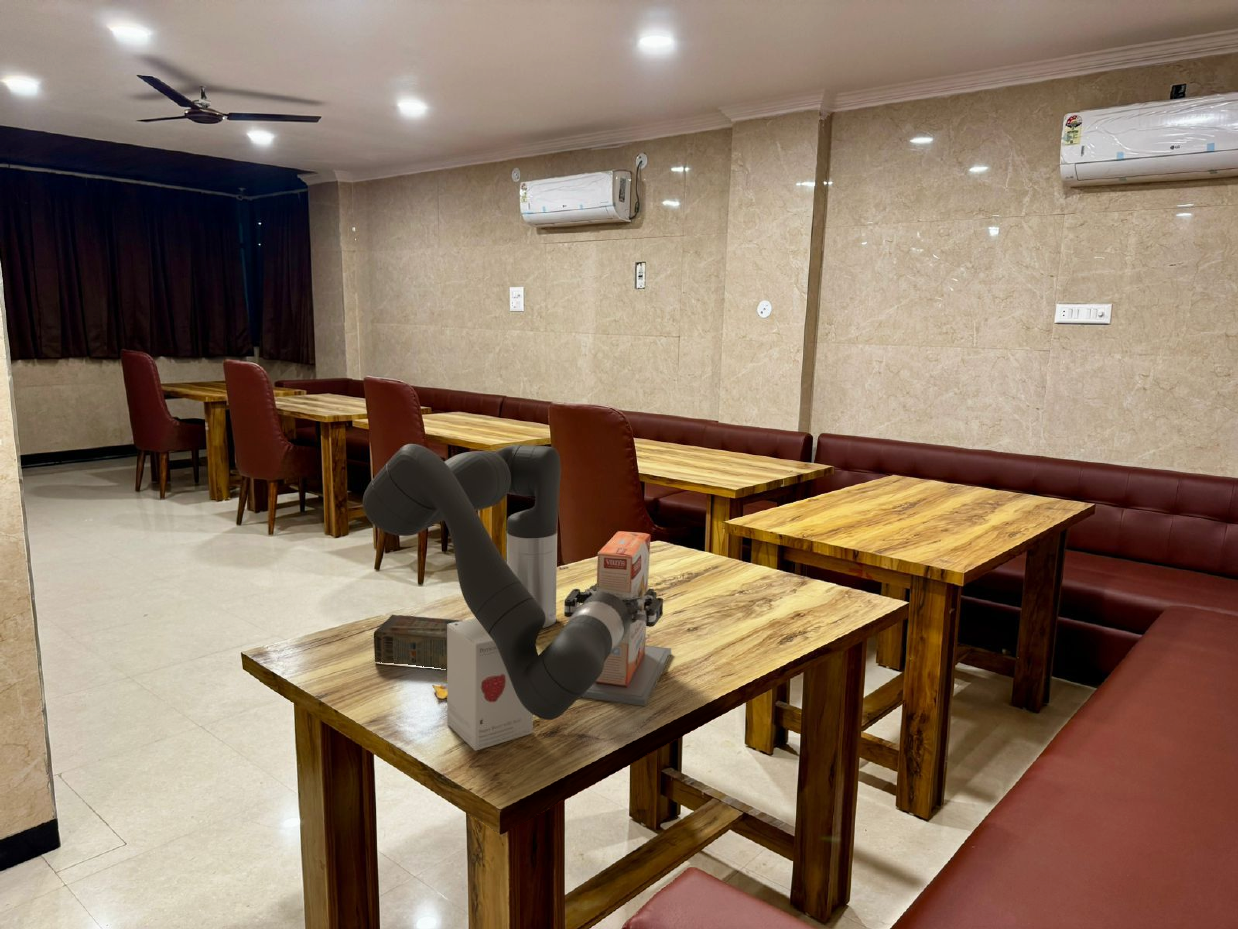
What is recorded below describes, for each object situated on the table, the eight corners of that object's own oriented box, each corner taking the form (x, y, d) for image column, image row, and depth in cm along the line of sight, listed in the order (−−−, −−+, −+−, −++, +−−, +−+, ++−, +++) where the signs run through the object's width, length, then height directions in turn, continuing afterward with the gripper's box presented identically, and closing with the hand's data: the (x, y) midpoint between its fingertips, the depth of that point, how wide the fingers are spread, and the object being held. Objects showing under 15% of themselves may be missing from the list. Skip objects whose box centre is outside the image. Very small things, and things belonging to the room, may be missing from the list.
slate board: (645, 706, 120) (645, 699, 120) (567, 695, 123) (567, 688, 123) (671, 654, 139) (671, 648, 139) (603, 645, 142) (603, 639, 142)
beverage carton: (487, 676, 129) (486, 637, 128) (371, 667, 132) (370, 629, 130) (500, 656, 137) (500, 618, 136) (391, 648, 139) (390, 611, 138)
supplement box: (474, 753, 106) (473, 644, 103) (445, 725, 113) (444, 622, 110) (535, 734, 111) (535, 630, 109) (504, 708, 118) (504, 610, 116)
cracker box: (630, 688, 123) (634, 555, 119) (591, 684, 124) (594, 552, 121) (648, 653, 137) (652, 532, 133) (613, 648, 138) (616, 529, 134)
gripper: (548, 647, 116) (581, 609, 131) (645, 660, 112) (668, 619, 128) (548, 596, 114) (582, 564, 130) (647, 608, 111) (670, 573, 126)
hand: (625, 591), depth 129 cm, fingers open, 8 cm apart
